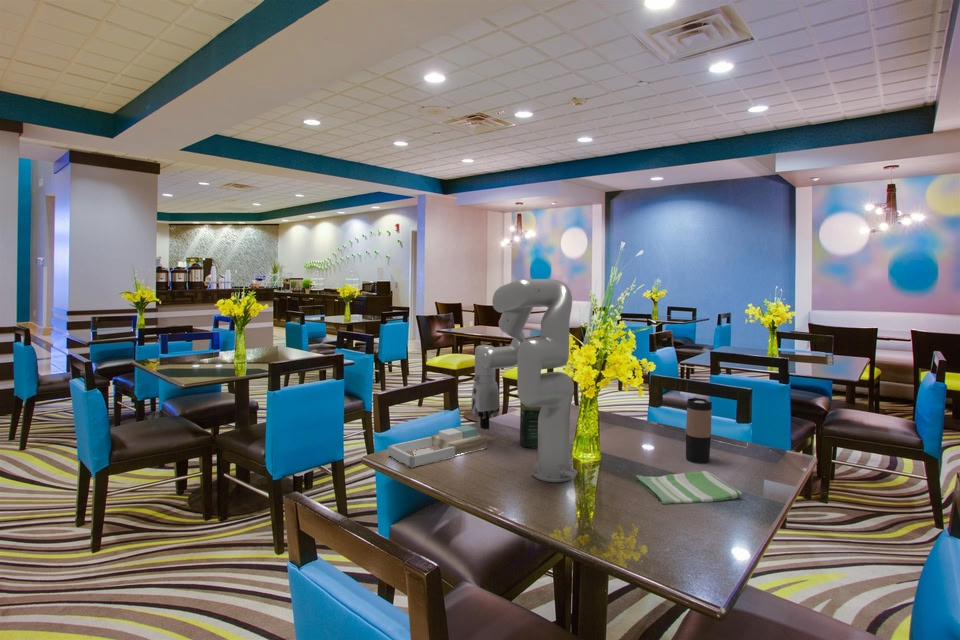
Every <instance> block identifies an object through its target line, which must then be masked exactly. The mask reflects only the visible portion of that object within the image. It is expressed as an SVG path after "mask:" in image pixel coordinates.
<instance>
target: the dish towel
mask: <svg viewBox="0 0 960 640" xmlns="http://www.w3.org/2000/svg"><path fill="white" fill-rule="evenodd" d="M635 477H636V478H638V479H637V482H638V483H639V484H640V485H641V486H642V487H643V486H644V487H643V488H645V489H646V490H647V492H649V493H650V494H651V495H653V496H654V499H655V500H657V501H658V499H659V501H660V502H659V503H660V504H661V505H671V503H673V504H697V502H698V503H711V502H713V501H714V502H725V501H724V500H726V501H731V500H734V499H735V500H736V499H738V498H740V496H742V492H741V491H740V490H738V489H736V488H734V487H733V486H731V485H730V484H728V483H726V482H725V481H723V480H722V479H720V478H719V477H717V476H716V475H715V474H712V473H711V472H710V471H707V470H700V471H693V472H692V471H689V472H682V473H681V472H680V473H675V474H673V473H671V474H666V475H662V476H644V475H636V474H635ZM656 497H657V498H656ZM661 502H662V503H661Z"/></svg>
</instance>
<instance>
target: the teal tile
mask: <svg viewBox="0 0 960 640" xmlns="http://www.w3.org/2000/svg"><path fill="white" fill-rule="evenodd" d="M453 428H454V429H456V430H459V431H462V432H463V438H469V437H473V436H477V434H478V428H476V427H474V426H472V425H471V426H470V425H468V424H466V425H462V426H457V427H453Z"/></svg>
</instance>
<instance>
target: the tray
mask: <svg viewBox="0 0 960 640" xmlns="http://www.w3.org/2000/svg"><path fill="white" fill-rule="evenodd" d="M428 446H432V437H431V436H427V437H423V438H418V439H414V440H413V439H412V440H408V441H404V442H399V443H395V444H391V445H387V455H388V454H389V455H390V456H392V457H394V458H396V459H398V460H400V461H402V462H403V463H405V464H407V465H409V466H411V467H413V466H418V465H422V464H426V463H430V462H433V461H437V460H441V459H444V458H448V457H452V456H455V447H454V446H452V447H448V448H443V449H439V450H435V451H434V450H433V449H431V448H426V449H420V448H424V447H428ZM416 449H418V450H417V451H416ZM419 449H420V450H419ZM430 449H431V450H430ZM411 450H412V451H413V450H414V451H413V454H414V456H412V455H410V454H408V453H406V451H411ZM415 451H416V452H415ZM415 454H416V455H415Z"/></svg>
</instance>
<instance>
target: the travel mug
mask: <svg viewBox="0 0 960 640" xmlns="http://www.w3.org/2000/svg"><path fill="white" fill-rule="evenodd" d="M712 402H713V401H708V400H707V399H705V398H700V397H698V398H695V397H693V398H688V399H687V402H686V403H687V404H686V421H685V423H686V424H685V425H686V426H685V459H686V461H688V462H690V463H693V464H701V465H702V463H704V464H708V463H709V461H710V456H711V455H710V454H711V440H712V414H713V413H712V412H713V410H712V408H713V407H712V405H713V403H712Z"/></svg>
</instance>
